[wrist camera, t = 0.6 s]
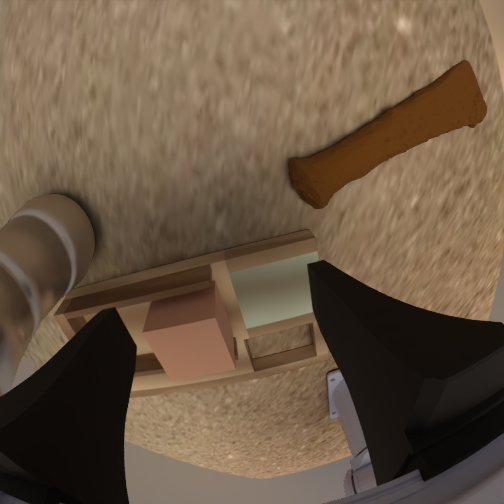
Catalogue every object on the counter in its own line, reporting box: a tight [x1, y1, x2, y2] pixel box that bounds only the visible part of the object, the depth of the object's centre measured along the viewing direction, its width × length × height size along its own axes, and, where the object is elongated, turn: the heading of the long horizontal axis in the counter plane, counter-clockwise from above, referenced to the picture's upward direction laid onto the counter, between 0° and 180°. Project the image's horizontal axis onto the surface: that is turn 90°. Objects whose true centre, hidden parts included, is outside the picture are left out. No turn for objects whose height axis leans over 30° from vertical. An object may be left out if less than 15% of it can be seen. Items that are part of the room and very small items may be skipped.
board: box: [54, 229, 329, 398], centre depth 22 cm, size 12×19×4 cm, turn 103°
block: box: [142, 280, 236, 381], centre depth 19 cm, size 4×4×4 cm
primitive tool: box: [288, 60, 487, 209], centre depth 17 cm, size 19×6×4 cm, turn 123°
